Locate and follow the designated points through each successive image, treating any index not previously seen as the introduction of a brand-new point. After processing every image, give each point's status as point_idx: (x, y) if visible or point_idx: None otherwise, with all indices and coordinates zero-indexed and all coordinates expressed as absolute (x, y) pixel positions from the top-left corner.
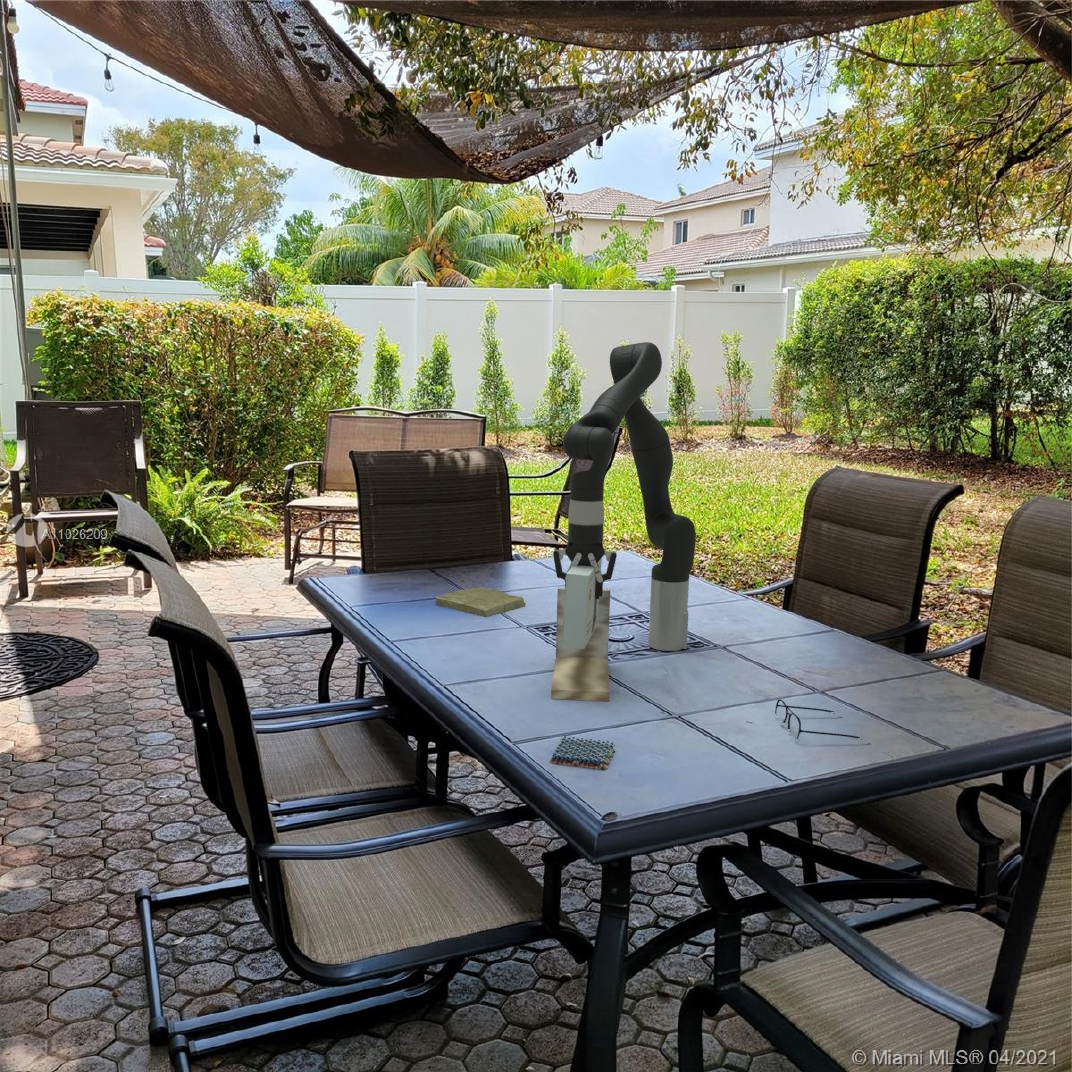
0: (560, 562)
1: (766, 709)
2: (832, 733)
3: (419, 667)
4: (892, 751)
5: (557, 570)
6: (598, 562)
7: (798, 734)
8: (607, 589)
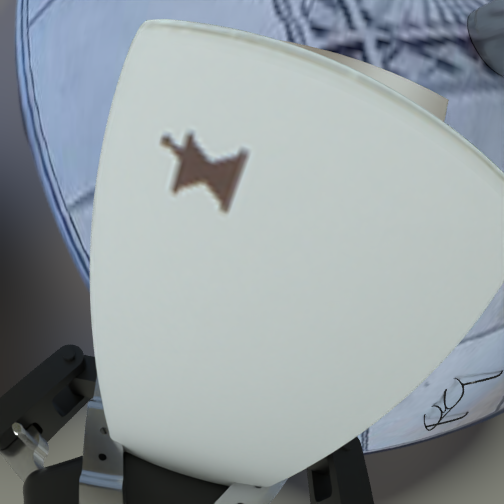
0: (47, 421)
1: (469, 356)
2: (447, 422)
3: (40, 130)
4: (466, 419)
5: (63, 400)
6: (319, 459)
7: (424, 424)
8: (434, 97)
